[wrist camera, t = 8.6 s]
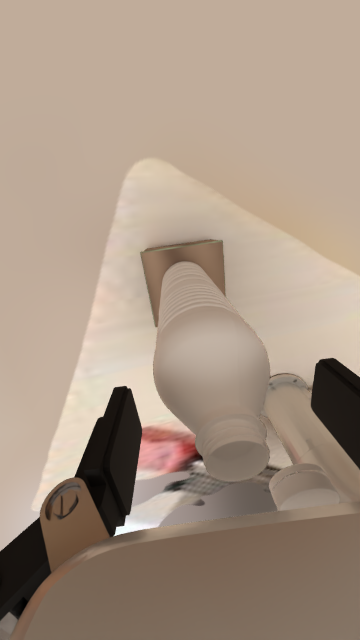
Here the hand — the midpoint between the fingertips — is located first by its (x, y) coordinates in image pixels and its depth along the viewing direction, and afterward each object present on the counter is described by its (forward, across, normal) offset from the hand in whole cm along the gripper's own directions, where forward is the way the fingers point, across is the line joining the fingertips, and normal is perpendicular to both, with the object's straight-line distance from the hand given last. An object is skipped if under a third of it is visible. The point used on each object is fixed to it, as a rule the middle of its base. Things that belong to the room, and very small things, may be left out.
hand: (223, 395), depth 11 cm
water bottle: (+22, 0, 0) cm, 22 cm away
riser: (+29, 0, -1) cm, 29 cm away
